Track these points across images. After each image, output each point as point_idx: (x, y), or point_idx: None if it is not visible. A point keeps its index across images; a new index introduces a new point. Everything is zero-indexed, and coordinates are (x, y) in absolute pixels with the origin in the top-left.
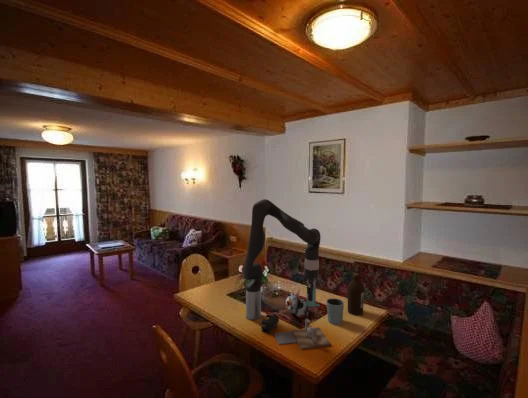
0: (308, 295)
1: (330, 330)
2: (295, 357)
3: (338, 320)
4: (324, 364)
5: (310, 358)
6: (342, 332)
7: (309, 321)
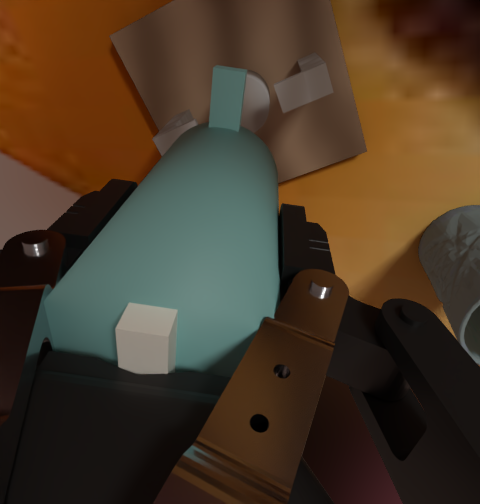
0: (77, 221)
1: (354, 212)
2: (24, 3)
3: (425, 270)
4: (46, 169)
5: (58, 99)
6: (337, 265)
7: (283, 105)
